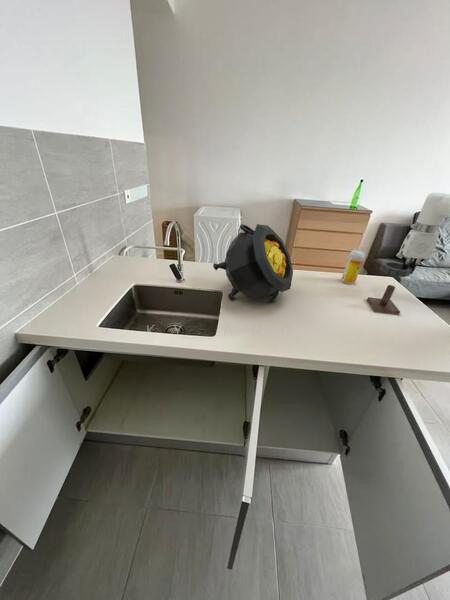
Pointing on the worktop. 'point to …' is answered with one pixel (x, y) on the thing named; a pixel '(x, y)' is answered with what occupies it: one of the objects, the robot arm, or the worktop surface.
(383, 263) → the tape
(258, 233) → the cauldron
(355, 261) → the beer can
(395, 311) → the peg stand
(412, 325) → the worktop surface
